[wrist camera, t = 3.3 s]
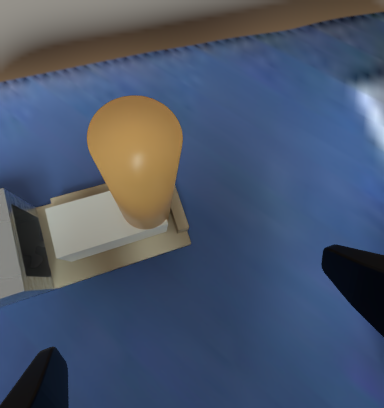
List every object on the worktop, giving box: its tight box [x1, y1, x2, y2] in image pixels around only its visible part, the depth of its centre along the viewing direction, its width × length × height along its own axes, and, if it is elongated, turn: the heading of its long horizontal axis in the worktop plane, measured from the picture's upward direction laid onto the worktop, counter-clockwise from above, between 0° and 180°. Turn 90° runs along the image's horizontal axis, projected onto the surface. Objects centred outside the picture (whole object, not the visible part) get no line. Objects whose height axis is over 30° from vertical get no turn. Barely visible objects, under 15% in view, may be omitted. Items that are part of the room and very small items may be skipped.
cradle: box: [36, 184, 191, 288], centre depth 21 cm, size 10×6×2 cm, turn 109°
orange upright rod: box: [45, 96, 183, 262], centre depth 15 cm, size 8×3×12 cm, turn 109°
